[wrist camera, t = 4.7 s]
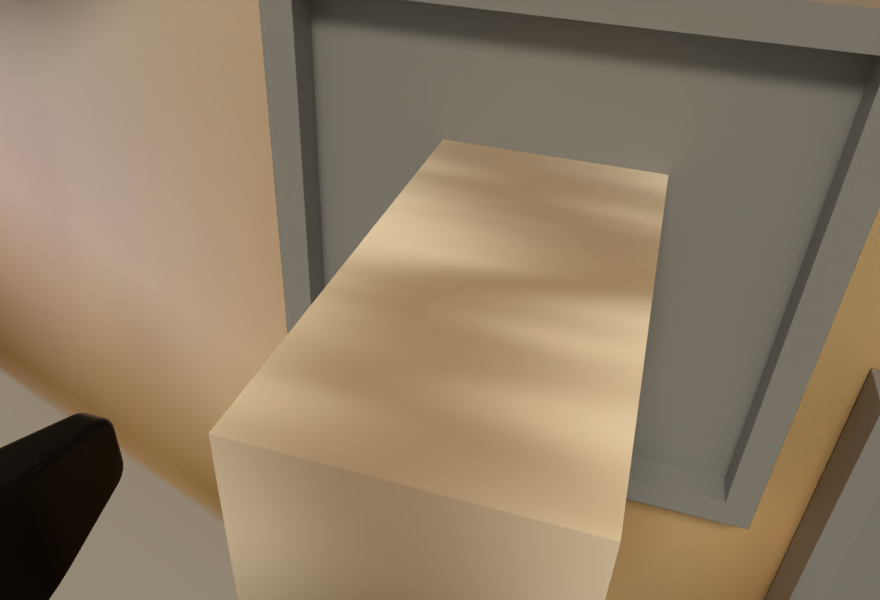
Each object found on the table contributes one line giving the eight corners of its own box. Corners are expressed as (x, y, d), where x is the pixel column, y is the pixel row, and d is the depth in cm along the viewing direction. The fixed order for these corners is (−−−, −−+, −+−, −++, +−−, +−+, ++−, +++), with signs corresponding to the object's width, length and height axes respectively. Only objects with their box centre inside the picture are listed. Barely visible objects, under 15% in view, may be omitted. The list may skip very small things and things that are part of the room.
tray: (935, -3, 11) (956, 17, 10) (746, 487, 17) (748, 529, 16) (287, -69, 13) (253, -57, 12) (316, 384, 19) (294, 415, 18)
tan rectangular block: (668, 174, 13) (620, 542, 7) (625, 362, 15) (559, 770, 9) (442, 139, 14) (208, 433, 7) (434, 322, 16) (248, 666, 10)
